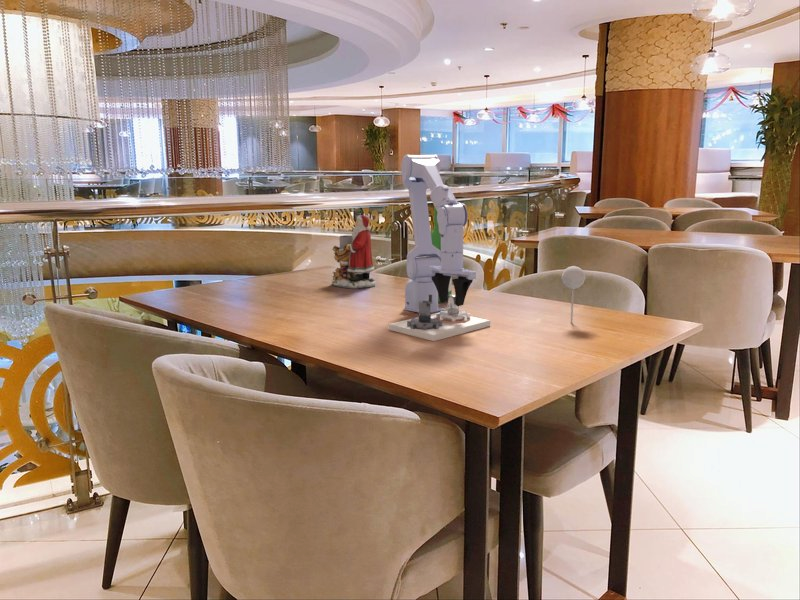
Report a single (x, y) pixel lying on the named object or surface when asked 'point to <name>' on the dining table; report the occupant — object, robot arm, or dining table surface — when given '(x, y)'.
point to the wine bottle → (438, 245)
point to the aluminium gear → (452, 312)
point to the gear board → (441, 328)
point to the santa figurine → (354, 257)
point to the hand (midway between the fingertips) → (451, 303)
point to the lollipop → (573, 280)
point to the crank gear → (425, 317)
